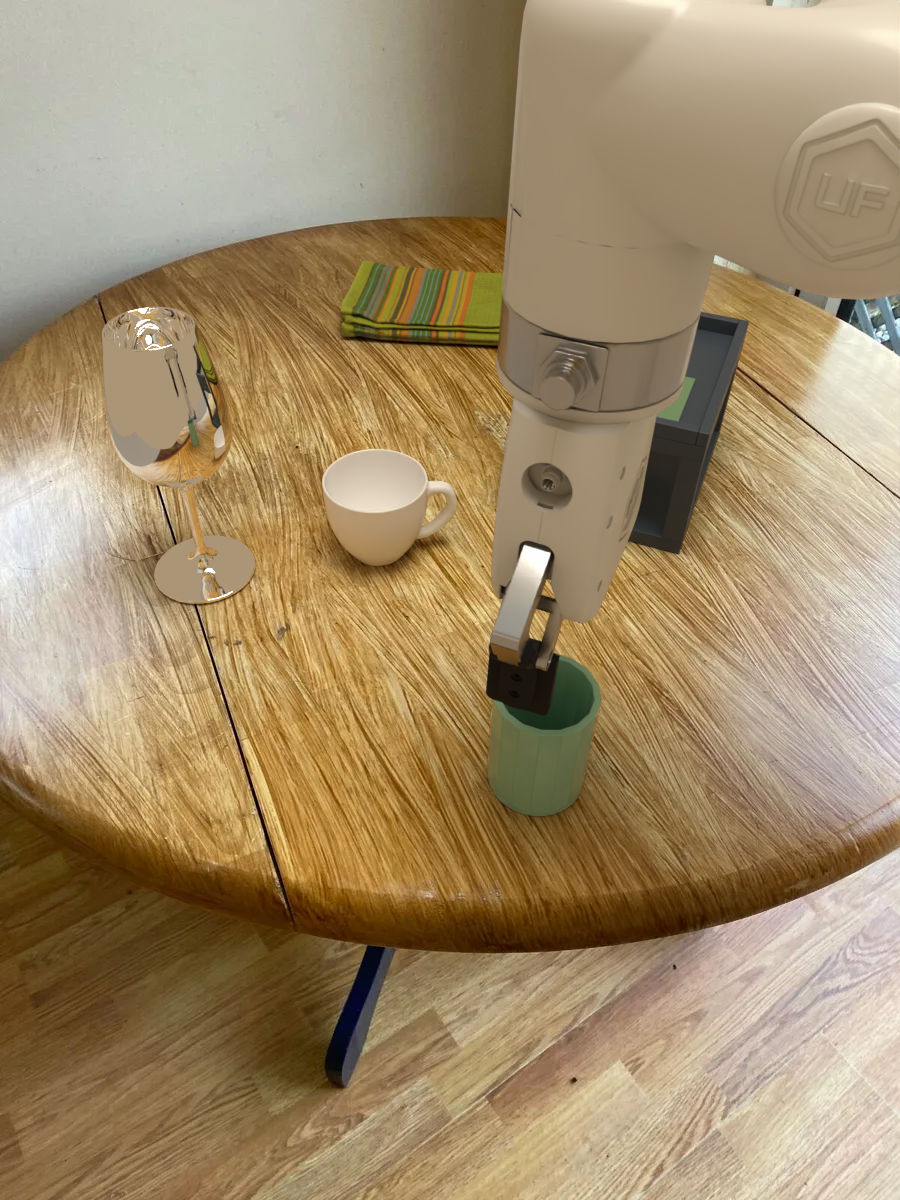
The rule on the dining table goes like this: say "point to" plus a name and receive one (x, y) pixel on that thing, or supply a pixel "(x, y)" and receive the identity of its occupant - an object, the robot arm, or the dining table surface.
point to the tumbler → (545, 745)
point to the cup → (381, 504)
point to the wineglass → (173, 438)
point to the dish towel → (423, 305)
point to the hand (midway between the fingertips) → (548, 635)
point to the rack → (688, 434)
